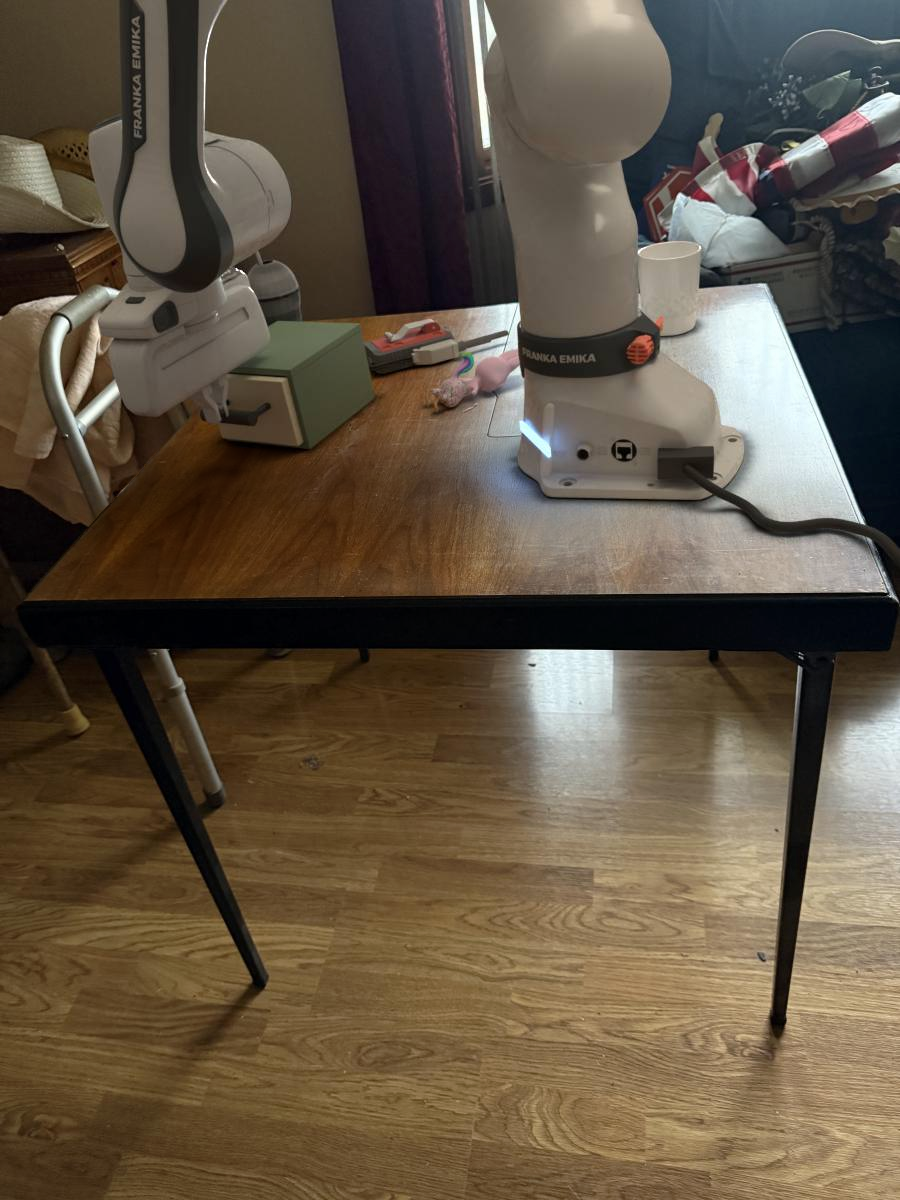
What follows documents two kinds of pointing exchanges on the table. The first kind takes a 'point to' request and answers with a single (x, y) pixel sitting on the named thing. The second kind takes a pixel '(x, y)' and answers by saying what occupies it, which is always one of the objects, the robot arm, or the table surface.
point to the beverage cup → (275, 291)
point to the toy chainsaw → (418, 346)
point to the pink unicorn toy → (486, 376)
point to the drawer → (260, 410)
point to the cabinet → (317, 373)
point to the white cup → (670, 284)
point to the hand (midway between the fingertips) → (218, 419)
